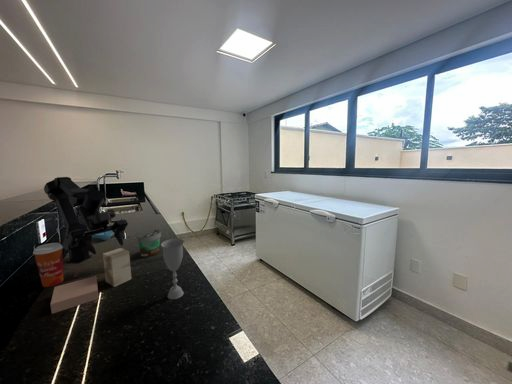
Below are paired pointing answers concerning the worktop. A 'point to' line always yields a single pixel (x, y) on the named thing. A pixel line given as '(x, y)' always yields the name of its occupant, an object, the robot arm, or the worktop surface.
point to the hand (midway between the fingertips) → (109, 249)
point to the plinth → (74, 294)
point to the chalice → (173, 263)
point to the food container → (150, 244)
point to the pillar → (117, 266)
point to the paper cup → (49, 263)
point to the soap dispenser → (104, 235)
